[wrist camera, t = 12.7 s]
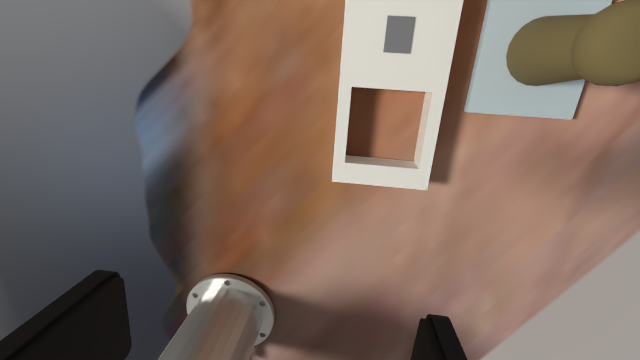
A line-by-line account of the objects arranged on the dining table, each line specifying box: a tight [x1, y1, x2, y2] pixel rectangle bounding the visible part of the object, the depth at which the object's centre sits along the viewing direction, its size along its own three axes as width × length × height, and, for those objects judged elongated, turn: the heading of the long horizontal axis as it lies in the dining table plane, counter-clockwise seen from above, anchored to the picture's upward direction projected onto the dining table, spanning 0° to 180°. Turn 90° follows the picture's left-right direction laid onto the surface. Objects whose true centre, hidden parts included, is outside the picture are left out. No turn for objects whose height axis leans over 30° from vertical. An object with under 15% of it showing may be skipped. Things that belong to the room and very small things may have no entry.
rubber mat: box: [464, 0, 612, 120], centre depth 29 cm, size 12×10×1 cm
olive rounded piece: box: [506, 0, 640, 86], centre depth 23 cm, size 6×6×11 cm
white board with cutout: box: [332, 0, 463, 190], centre depth 30 cm, size 24×10×3 cm, turn 177°
